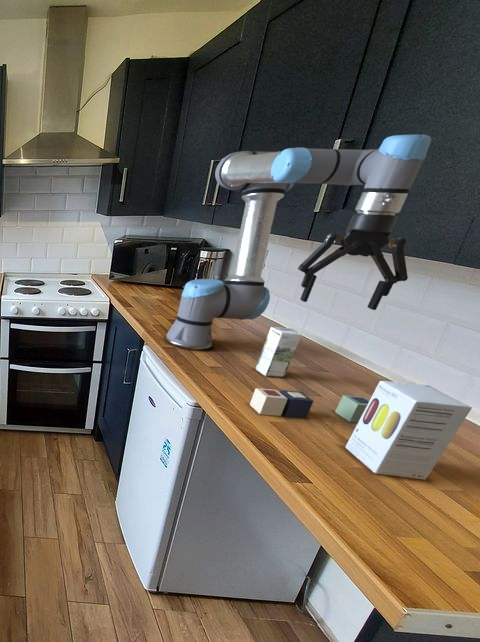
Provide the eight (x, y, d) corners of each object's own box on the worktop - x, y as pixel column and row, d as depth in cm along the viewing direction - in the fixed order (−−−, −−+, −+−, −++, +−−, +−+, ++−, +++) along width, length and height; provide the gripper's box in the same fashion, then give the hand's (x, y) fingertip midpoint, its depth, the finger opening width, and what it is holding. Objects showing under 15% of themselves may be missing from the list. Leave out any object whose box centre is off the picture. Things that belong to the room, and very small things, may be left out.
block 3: (334, 411, 104) (343, 394, 102) (355, 413, 103) (364, 396, 101) (349, 422, 99) (358, 403, 97) (371, 423, 99) (380, 405, 97)
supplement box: (343, 447, 89) (377, 379, 82) (390, 452, 88) (428, 383, 81) (375, 474, 80) (416, 401, 73) (428, 481, 79) (475, 406, 72)
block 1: (249, 404, 106) (255, 387, 104) (269, 406, 105) (276, 389, 103) (259, 414, 101) (266, 396, 99) (280, 416, 101) (288, 398, 99)
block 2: (273, 406, 105) (280, 389, 103) (293, 408, 105) (301, 391, 103) (284, 416, 101) (292, 398, 99) (306, 418, 100) (314, 400, 98)
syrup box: (273, 370, 128) (289, 327, 122) (285, 378, 123) (302, 333, 117) (254, 369, 128) (270, 325, 123) (265, 376, 123) (282, 332, 117)
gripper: (313, 211, 92) (280, 300, 101) (460, 217, 83) (409, 316, 92) (304, 209, 98) (273, 294, 107) (440, 216, 89) (394, 308, 98)
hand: (336, 304), depth 100 cm, fingers open, 13 cm apart
